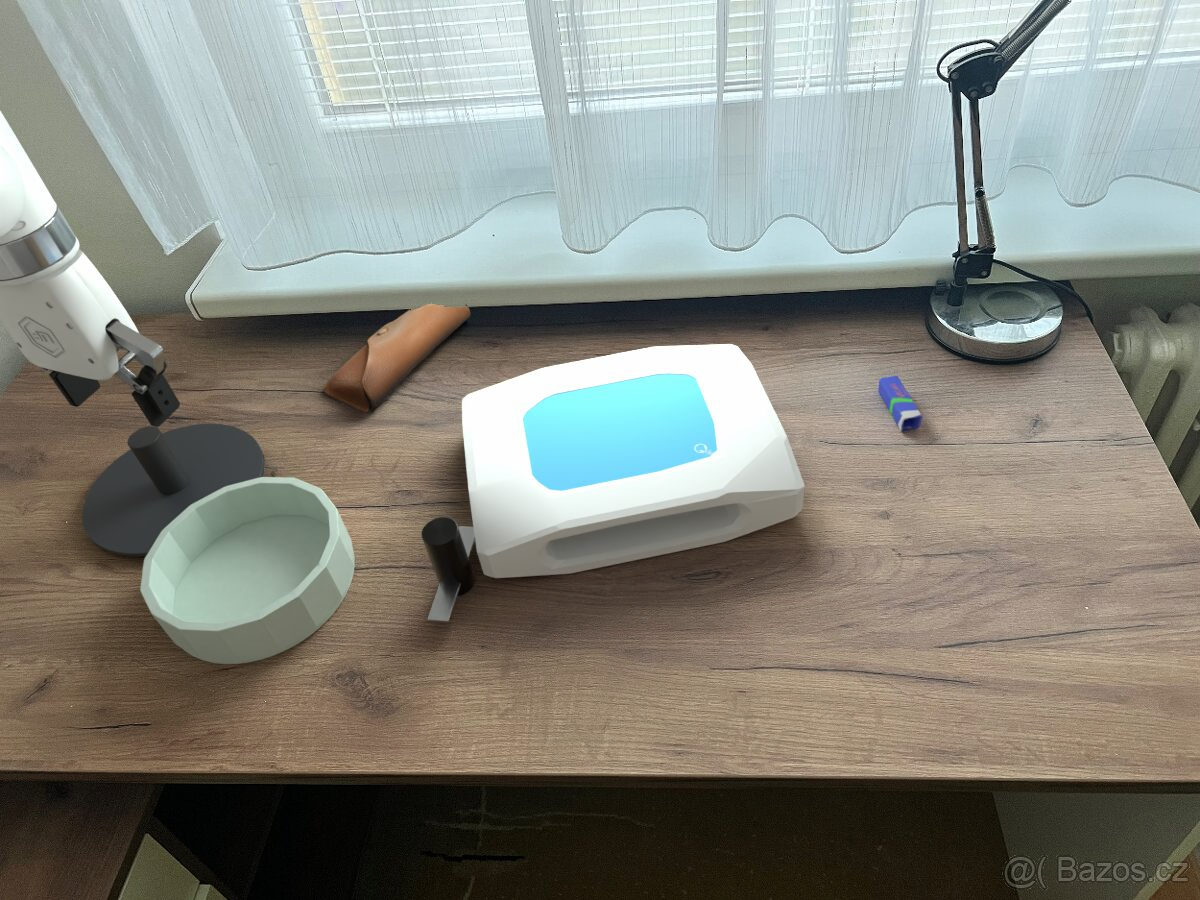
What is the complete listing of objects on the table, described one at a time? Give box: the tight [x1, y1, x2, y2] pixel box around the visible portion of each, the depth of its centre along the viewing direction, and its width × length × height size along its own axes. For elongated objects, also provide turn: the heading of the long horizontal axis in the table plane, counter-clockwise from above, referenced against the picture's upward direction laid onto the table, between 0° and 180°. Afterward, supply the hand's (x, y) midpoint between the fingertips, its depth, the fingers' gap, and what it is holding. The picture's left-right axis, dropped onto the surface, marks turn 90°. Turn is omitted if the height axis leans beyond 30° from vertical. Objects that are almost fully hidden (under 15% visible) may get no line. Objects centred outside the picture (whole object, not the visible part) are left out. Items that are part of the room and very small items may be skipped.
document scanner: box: [461, 343, 806, 579], centre depth 81 cm, size 21×28×6 cm
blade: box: [421, 516, 476, 624], centre depth 73 cm, size 10×3×7 cm, turn 171°
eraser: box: [877, 375, 923, 432], centre depth 85 cm, size 2×6×2 cm, turn 7°
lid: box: [81, 423, 265, 558], centre depth 85 cm, size 18×18×8 cm
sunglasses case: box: [322, 302, 471, 414], centre depth 98 cm, size 18×7×7 cm
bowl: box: [139, 476, 356, 665], centre depth 76 cm, size 17×17×5 cm
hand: (126, 406), depth 80 cm, fingers open, 9 cm apart
